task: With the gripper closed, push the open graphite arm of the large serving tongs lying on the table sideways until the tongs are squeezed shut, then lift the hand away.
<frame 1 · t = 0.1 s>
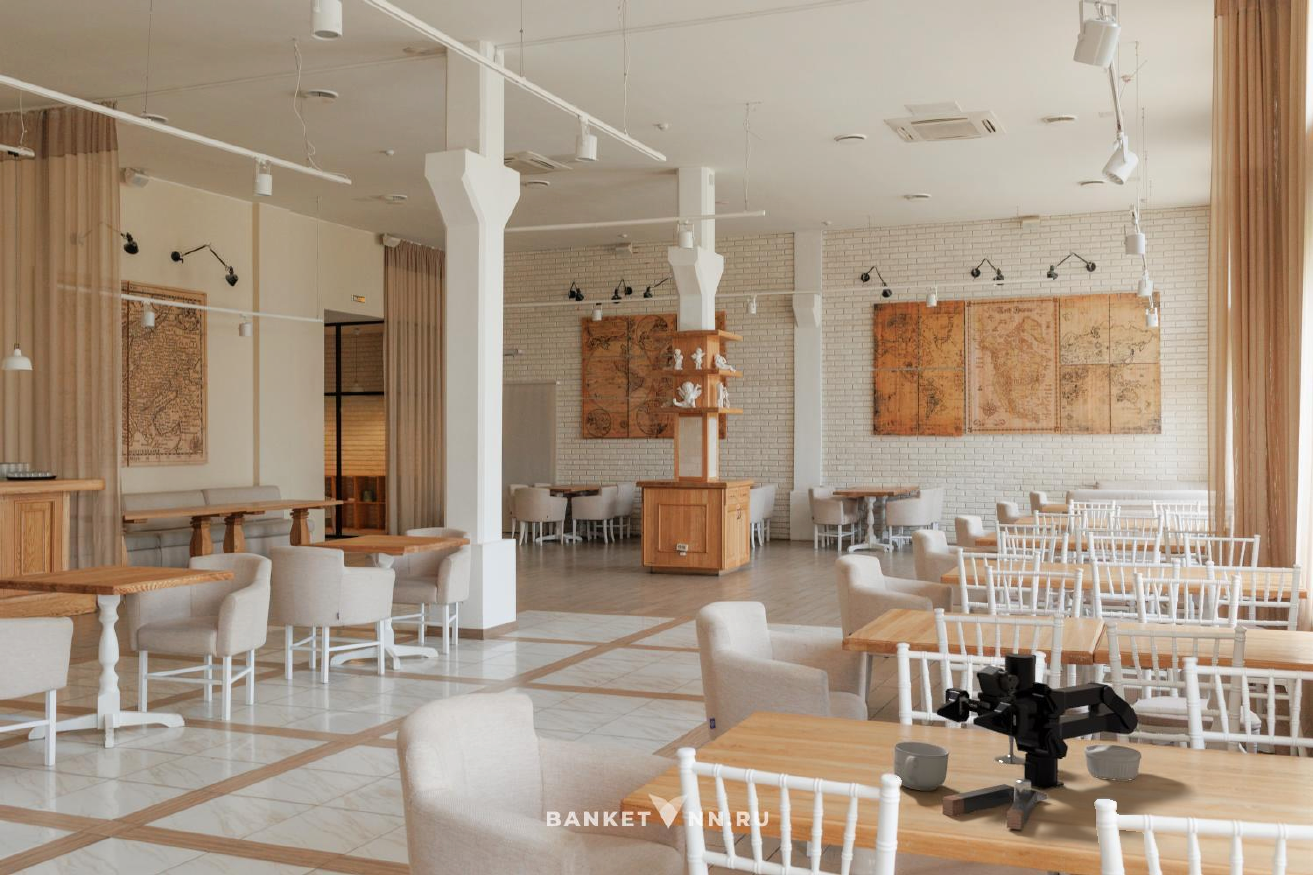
hand: (955, 716, 221), 17 cm above the table, tool horizontal, fingers open, 9 cm apart
ramekin: (1112, 776, 242), on the table
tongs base: (1022, 801, 222), on the table
teacup: (917, 789, 230), on the table
tongs arm: (1022, 808, 212), point 2 cm above the table, hinge at 30.0°
wine glass: (1011, 760, 253), on the table
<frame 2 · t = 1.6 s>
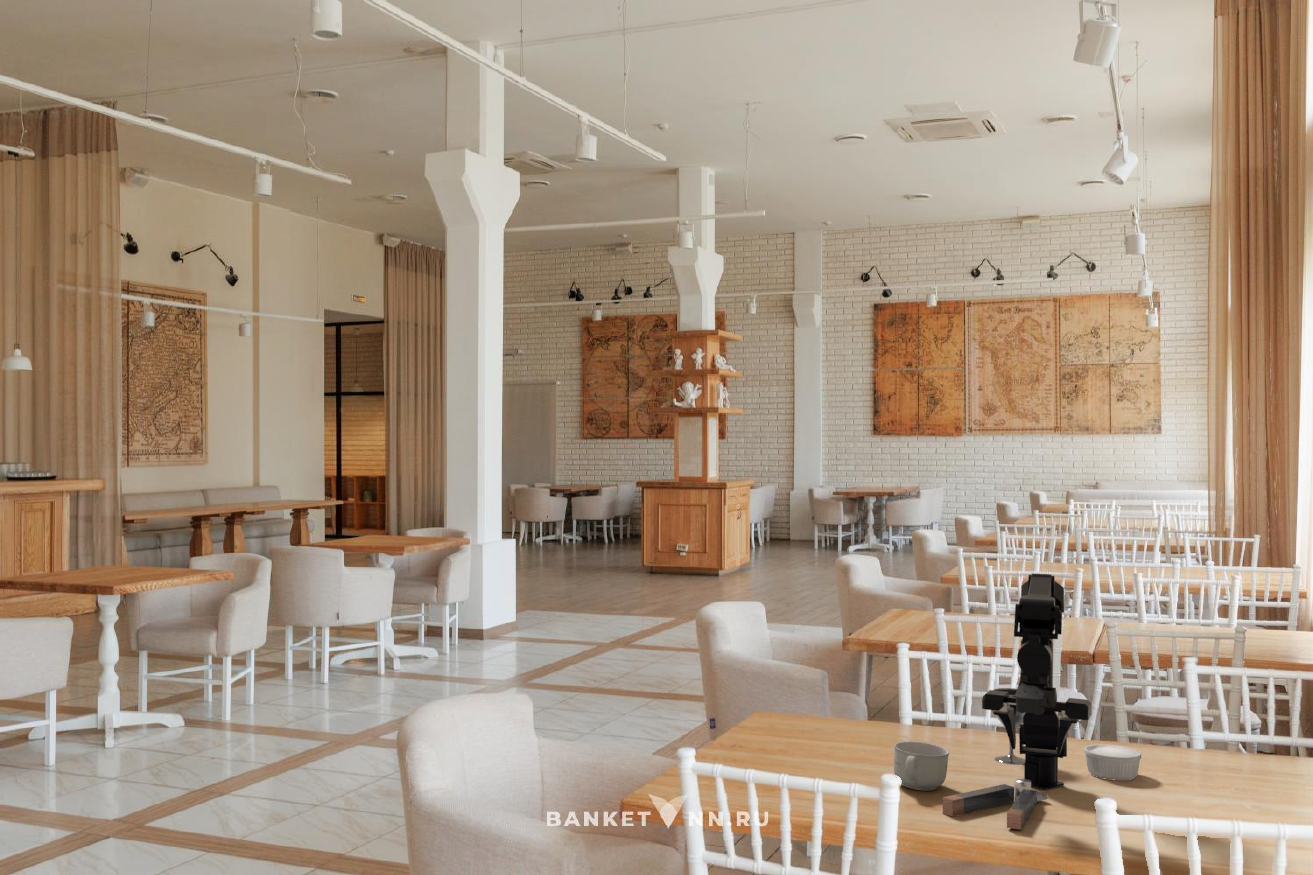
hand: (1036, 751, 212), 12 cm above the table, tool pointing down, fingers open, 8 cm apart
nothing on the table moved.
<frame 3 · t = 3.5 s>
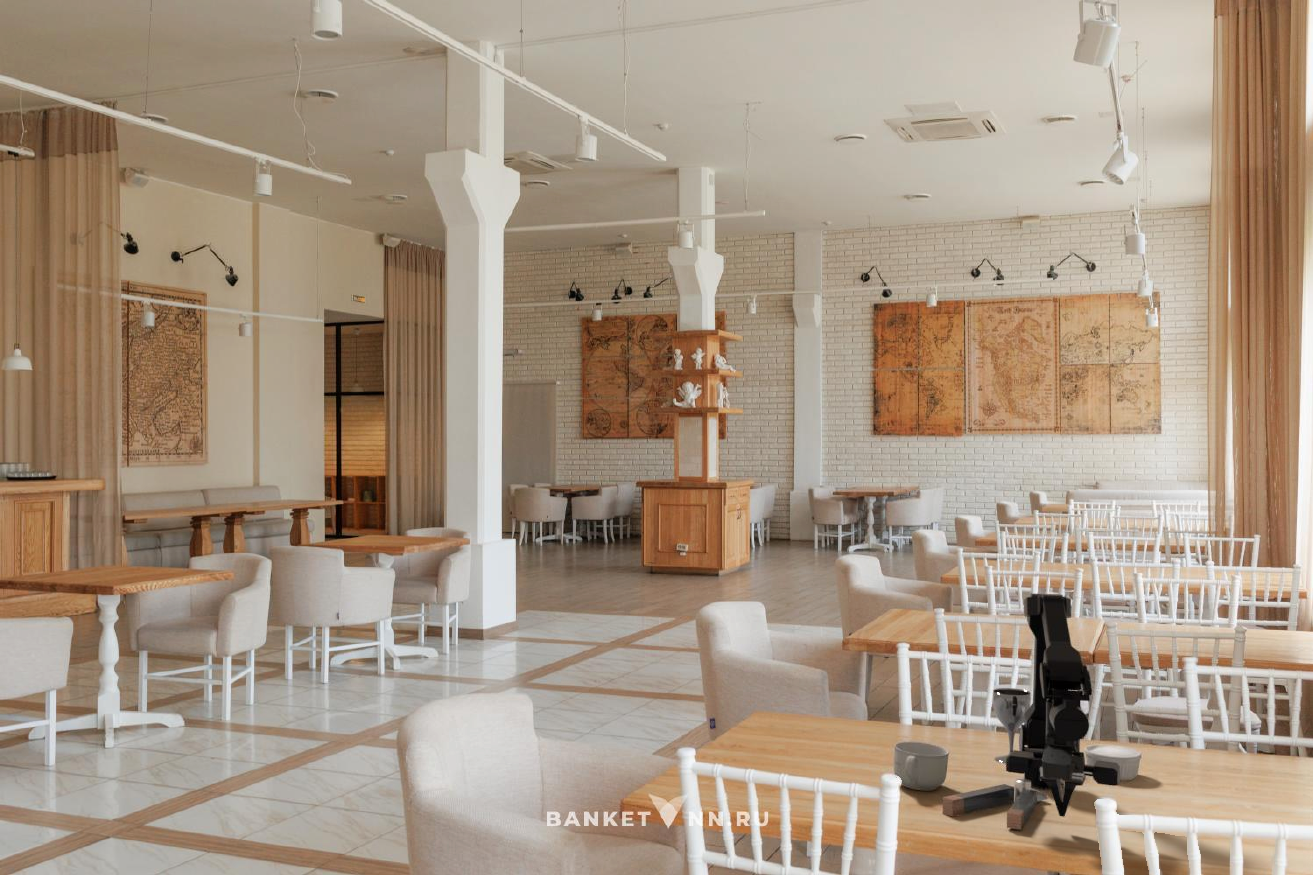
hand: (1062, 815, 205), 3 cm above the table, tool pointing down, fingers closed
nothing on the table moved.
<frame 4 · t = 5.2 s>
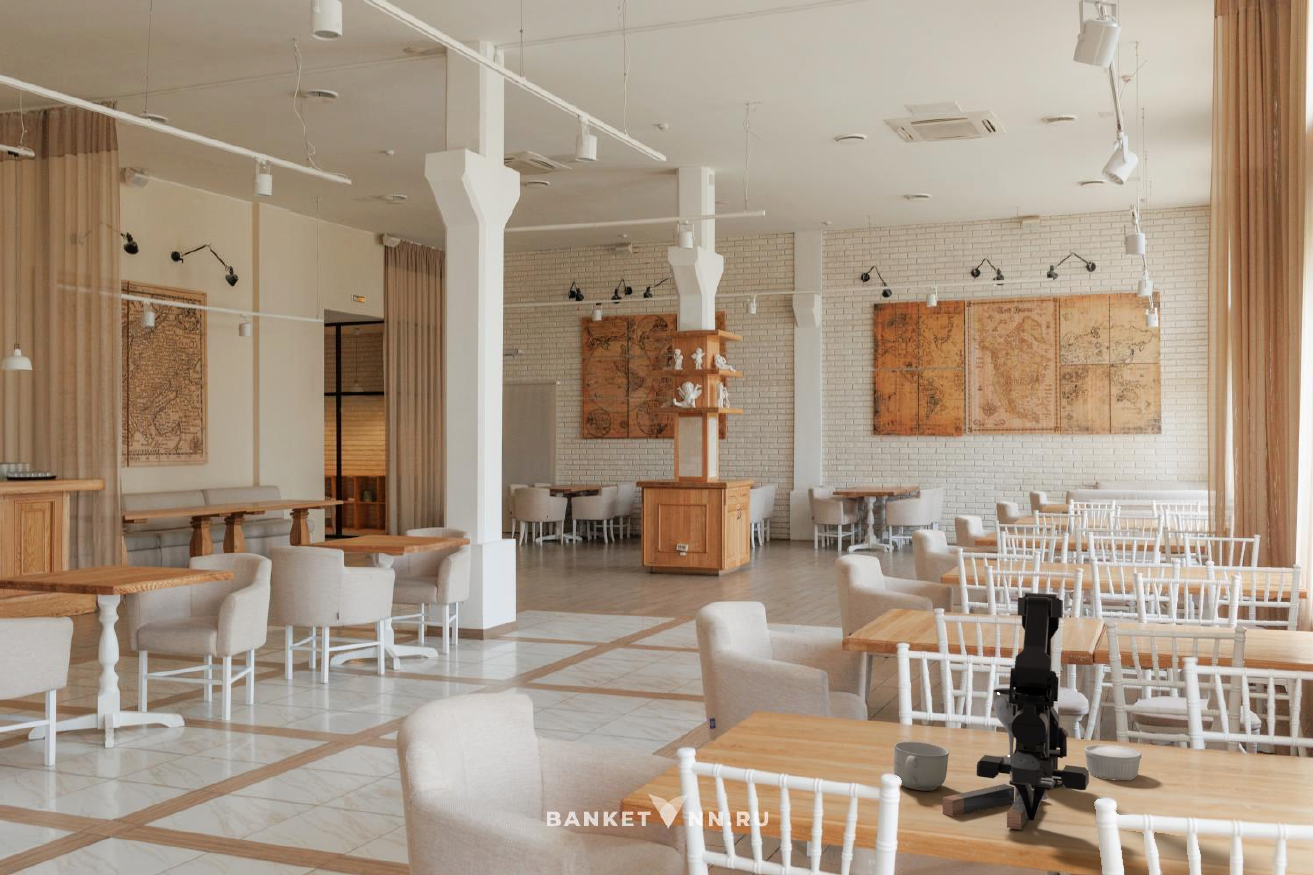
hand: (1031, 819, 207), 1 cm above the table, tool pointing down, fingers closed
tongs arm: (1022, 808, 212), point 2 cm above the table, hinge at 30.0°, touching gripper
everything else where it was.
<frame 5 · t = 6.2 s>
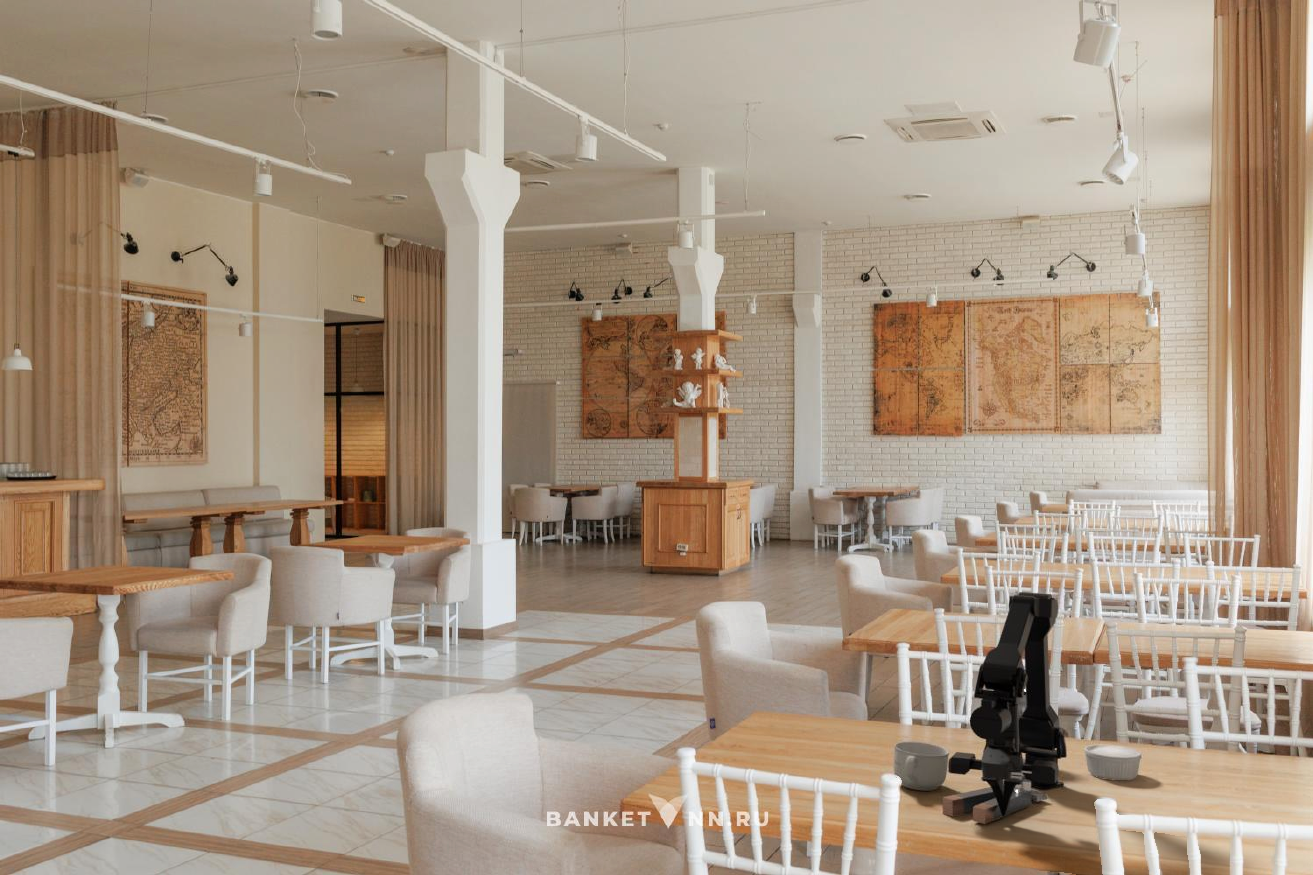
hand: (1003, 815, 209), 1 cm above the table, tool pointing down, fingers closed
tongs arm: (1002, 805, 214), point 2 cm above the table, hinge at 11.3°, touching gripper
everything else where it was.
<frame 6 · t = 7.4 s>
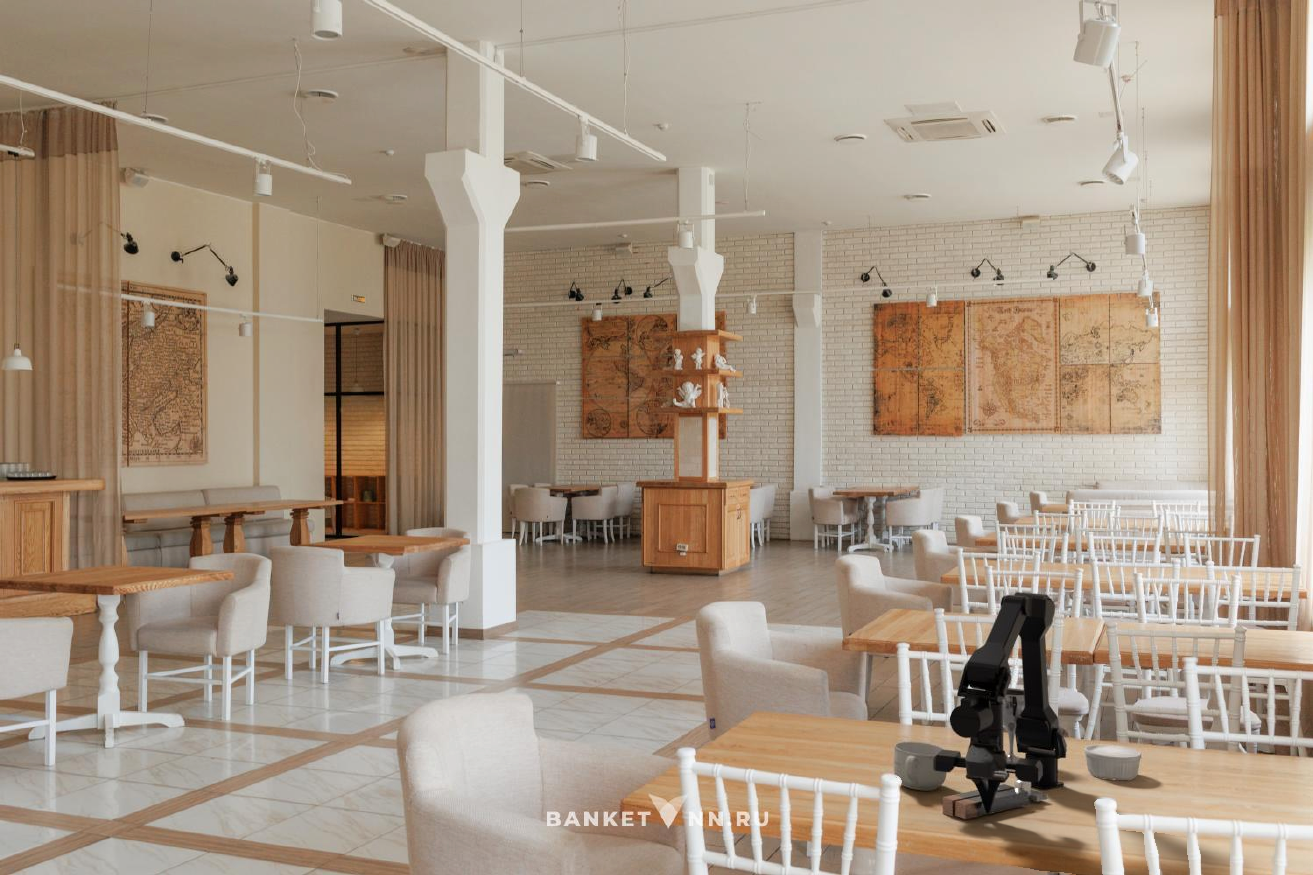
hand: (987, 812, 211), 1 cm above the table, tool pointing down, fingers closed
tongs arm: (992, 803, 215), point 2 cm above the table, hinge at -0.3°, touching gripper
everything else where it was.
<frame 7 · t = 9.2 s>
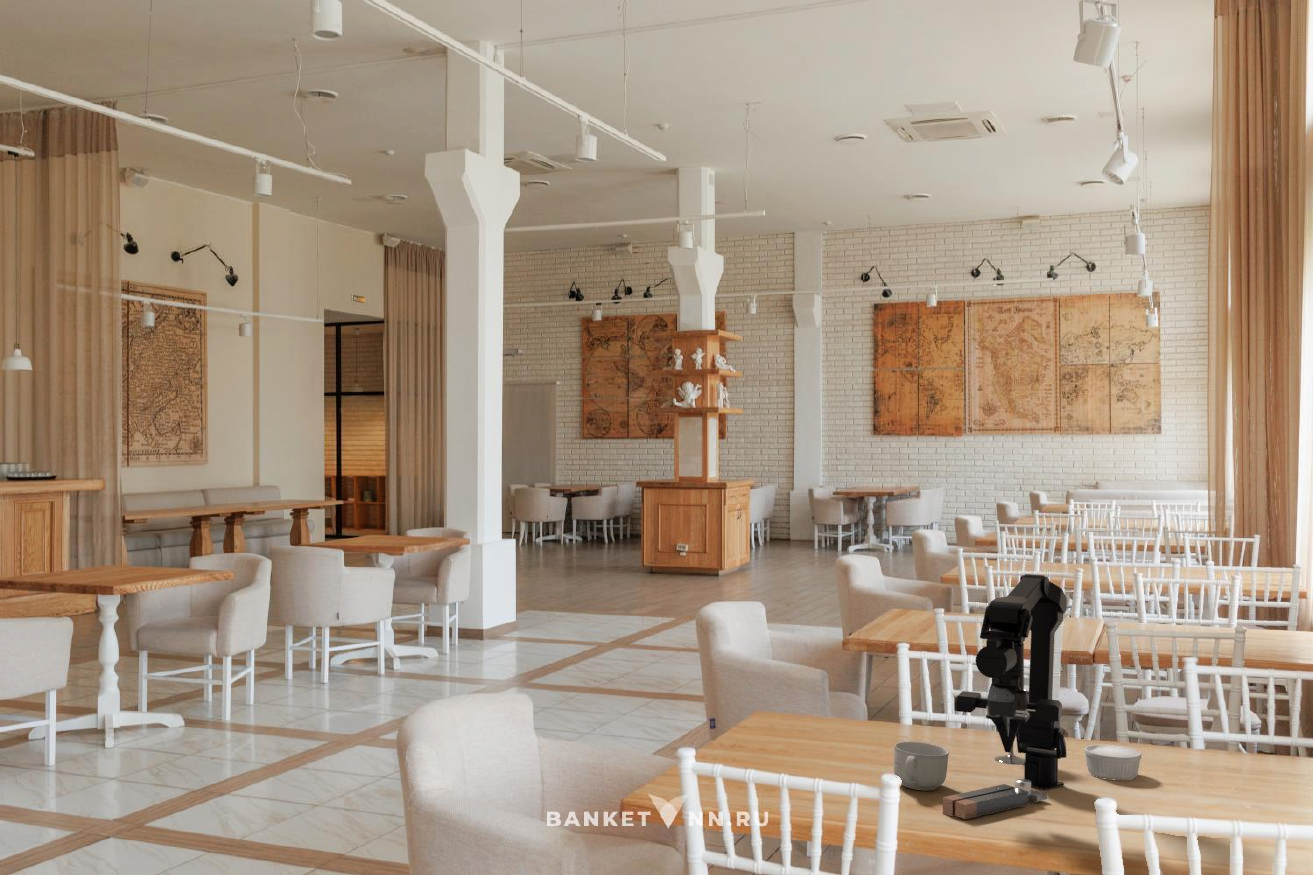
hand: (1007, 751, 215), 11 cm above the table, tool pointing down, fingers closed
tongs arm: (992, 803, 215), point 2 cm above the table, hinge at -0.4°
everything else where it was.
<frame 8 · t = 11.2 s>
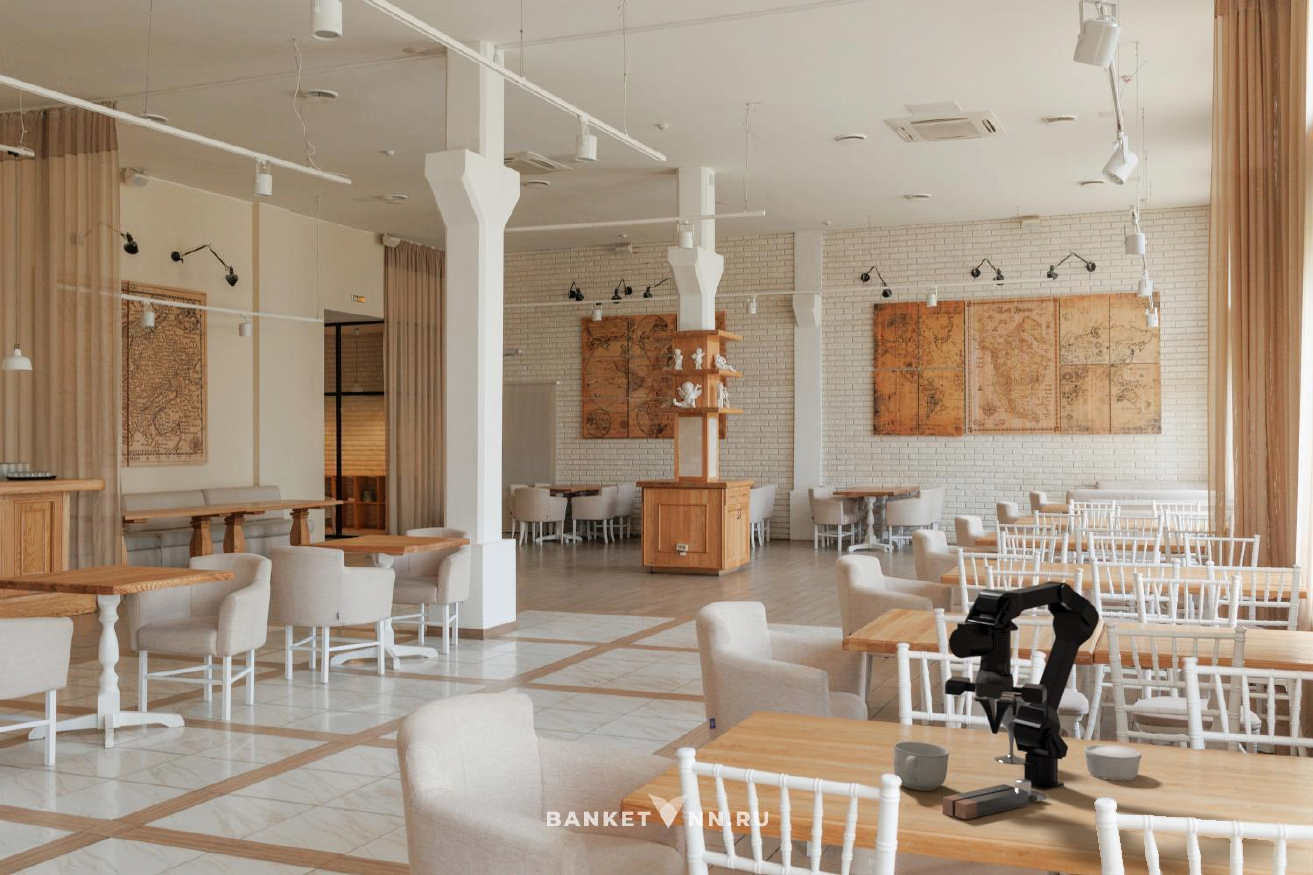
hand: (995, 733, 227), 12 cm above the table, tool pointing down, fingers closed
nothing on the table moved.
at the end: tongs arm at +0° (first picture: +30°); teacup moved 0.3 cm from its start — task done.
